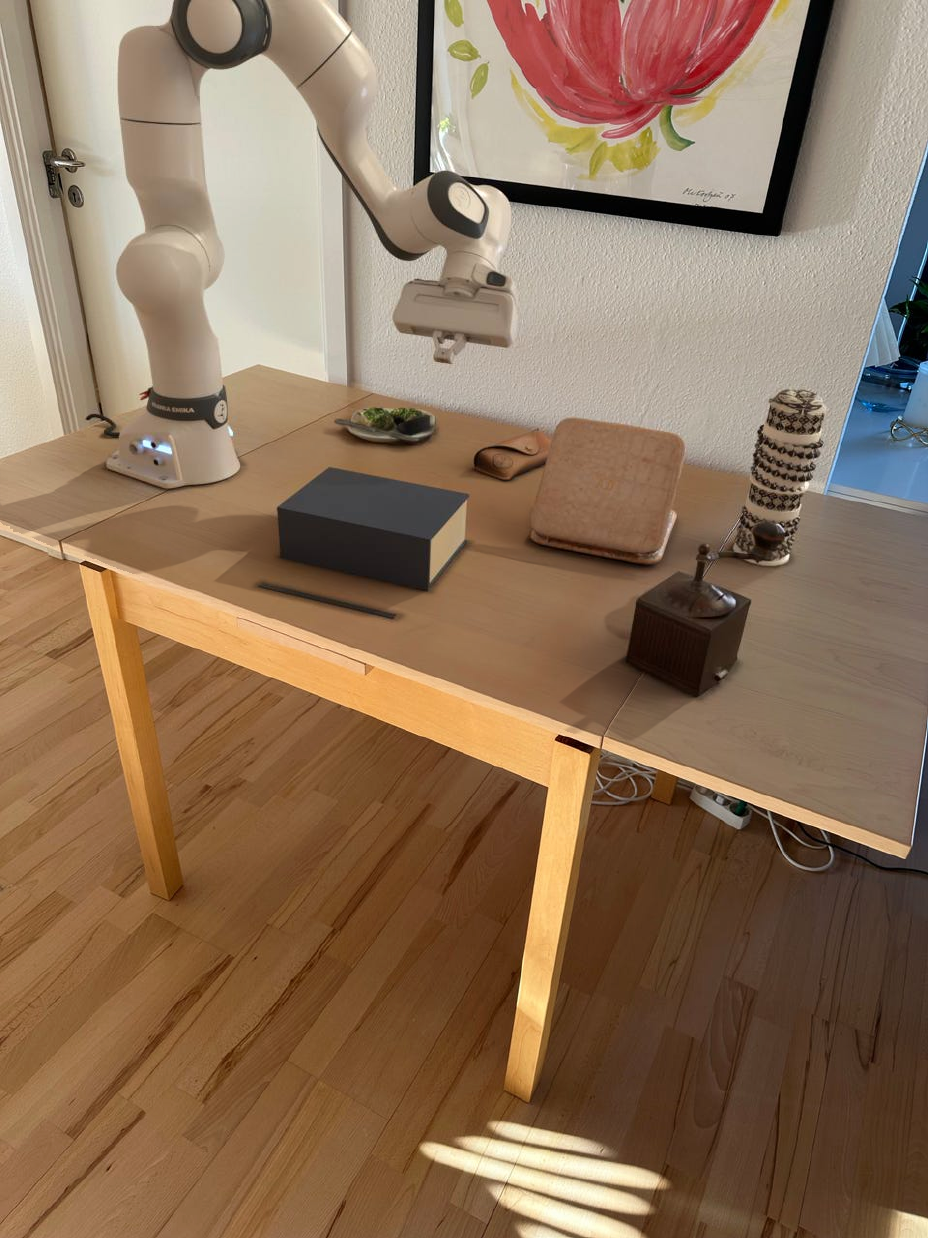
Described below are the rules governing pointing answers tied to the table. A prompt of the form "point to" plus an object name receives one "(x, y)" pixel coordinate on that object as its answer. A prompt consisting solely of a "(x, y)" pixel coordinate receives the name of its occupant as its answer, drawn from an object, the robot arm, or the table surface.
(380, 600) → the table surface
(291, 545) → the dictionary
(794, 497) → the white patterned cylinder
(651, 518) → the case
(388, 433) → the salad plate
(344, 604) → the dark grey thin rod
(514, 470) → the sunglasses case
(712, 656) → the manual coffee grinder
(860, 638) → the table surface
